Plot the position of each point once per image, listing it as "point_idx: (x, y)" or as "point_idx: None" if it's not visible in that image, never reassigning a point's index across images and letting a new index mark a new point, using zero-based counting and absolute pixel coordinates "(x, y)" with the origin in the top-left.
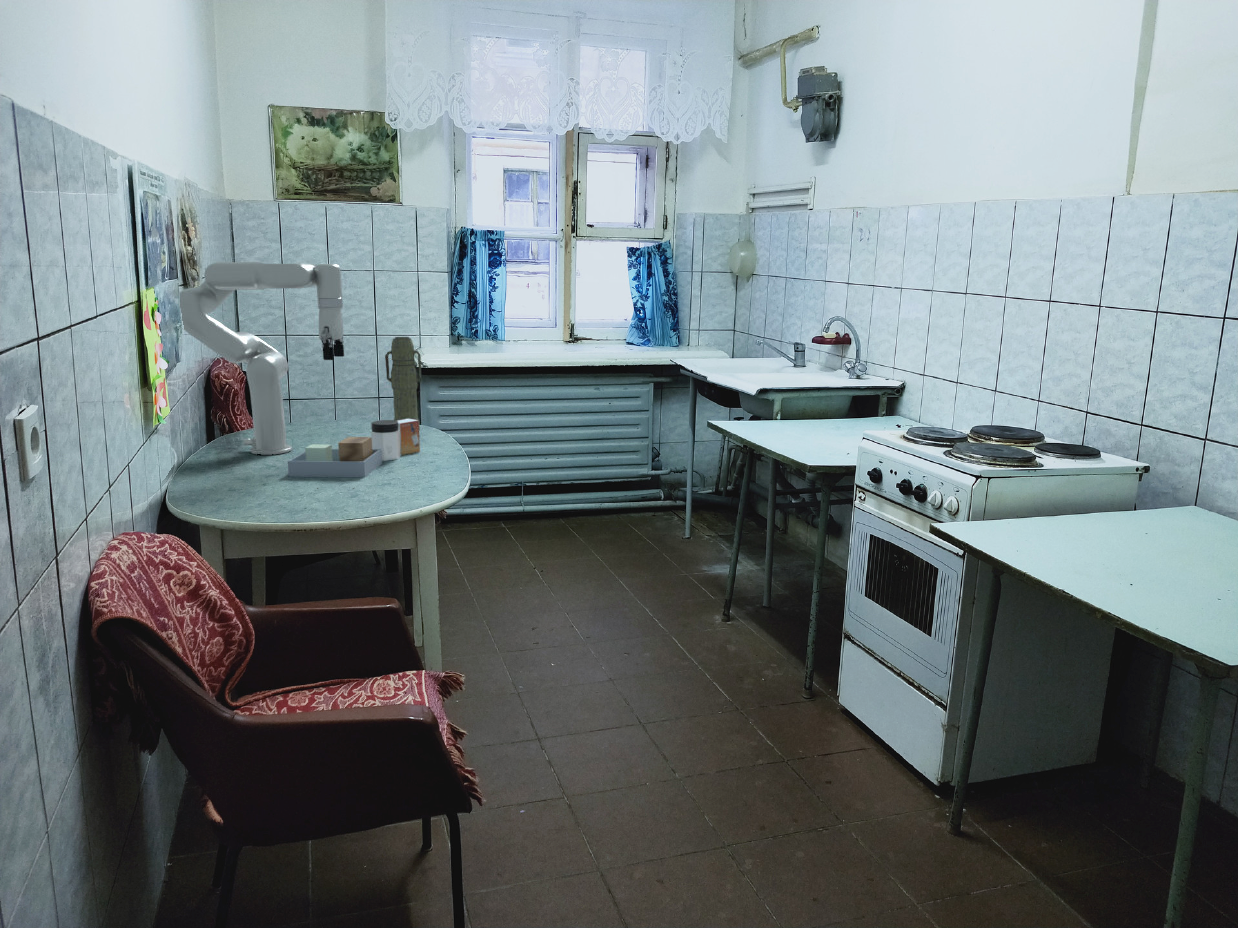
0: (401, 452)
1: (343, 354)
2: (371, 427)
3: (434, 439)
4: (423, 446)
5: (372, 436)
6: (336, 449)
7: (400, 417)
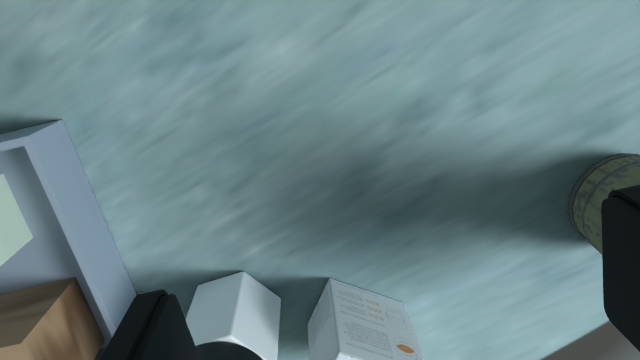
0: (308, 329)
1: (632, 332)
2: None
3: (584, 303)
4: (462, 320)
5: None
6: (68, 241)
7: None
